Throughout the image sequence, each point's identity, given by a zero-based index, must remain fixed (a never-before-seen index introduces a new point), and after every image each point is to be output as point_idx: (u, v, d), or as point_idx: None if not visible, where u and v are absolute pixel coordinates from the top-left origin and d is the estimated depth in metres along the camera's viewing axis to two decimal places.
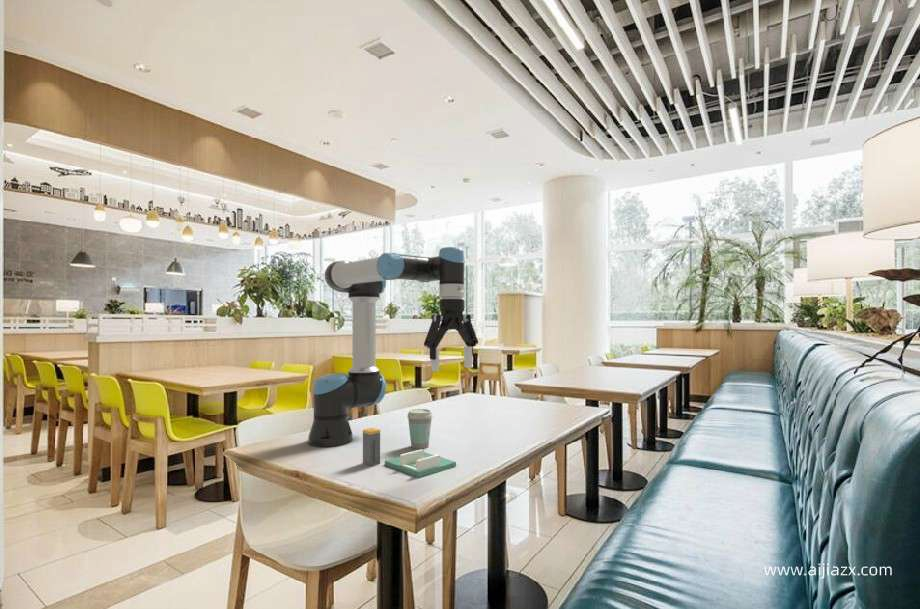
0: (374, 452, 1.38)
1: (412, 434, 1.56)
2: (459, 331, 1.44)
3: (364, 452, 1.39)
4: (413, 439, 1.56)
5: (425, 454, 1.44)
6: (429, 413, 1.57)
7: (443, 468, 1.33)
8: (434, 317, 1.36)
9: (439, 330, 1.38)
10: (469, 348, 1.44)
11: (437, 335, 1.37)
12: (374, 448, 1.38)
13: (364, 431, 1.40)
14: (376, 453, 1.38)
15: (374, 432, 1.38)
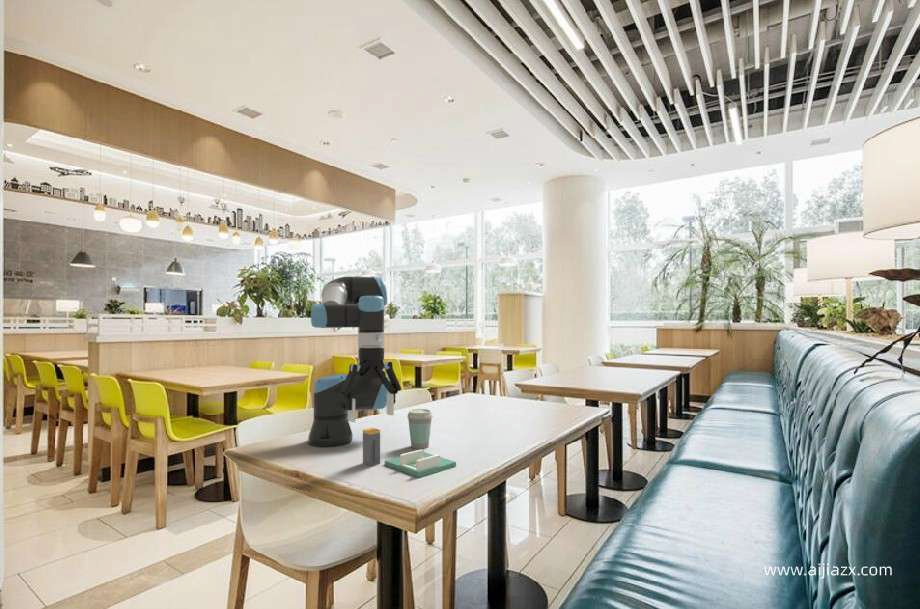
0: (374, 452, 1.38)
1: (412, 434, 1.56)
2: (380, 379, 1.43)
3: (364, 452, 1.39)
4: (413, 439, 1.56)
5: (425, 454, 1.44)
6: (429, 413, 1.57)
7: (443, 468, 1.33)
8: (351, 367, 1.36)
9: (357, 379, 1.37)
10: (391, 395, 1.44)
11: (354, 385, 1.36)
12: (374, 448, 1.38)
13: (364, 431, 1.40)
14: (376, 453, 1.38)
15: (374, 432, 1.38)
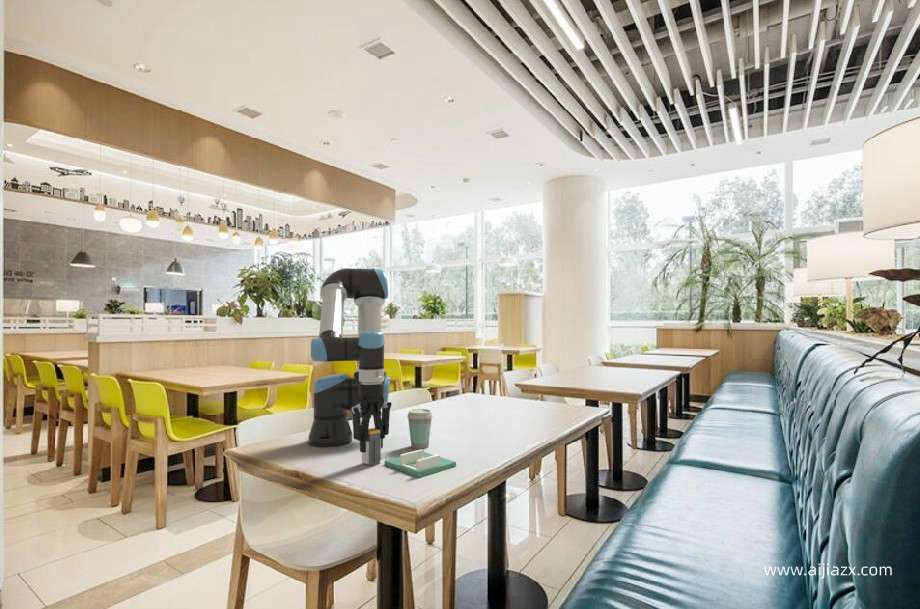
0: (374, 452, 1.38)
1: (412, 434, 1.56)
2: (374, 417, 1.41)
3: None
4: (413, 439, 1.56)
5: (425, 454, 1.44)
6: (429, 413, 1.57)
7: (443, 468, 1.33)
8: (352, 411, 1.36)
9: (363, 420, 1.39)
10: None
11: (362, 426, 1.38)
12: (374, 448, 1.38)
13: None
14: (376, 453, 1.38)
15: (374, 432, 1.38)
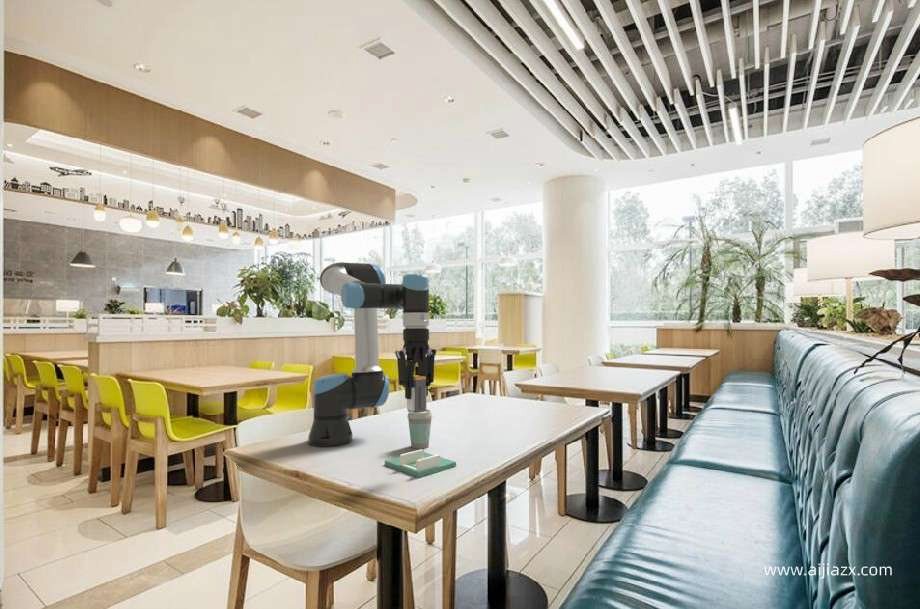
0: (420, 398, 1.32)
1: (412, 434, 1.56)
2: (419, 364, 1.36)
3: None
4: (413, 439, 1.56)
5: (425, 454, 1.44)
6: (429, 413, 1.57)
7: (443, 468, 1.33)
8: (398, 354, 1.30)
9: (408, 365, 1.33)
10: None
11: (408, 372, 1.32)
12: (420, 394, 1.32)
13: None
14: (422, 400, 1.32)
15: (420, 378, 1.33)
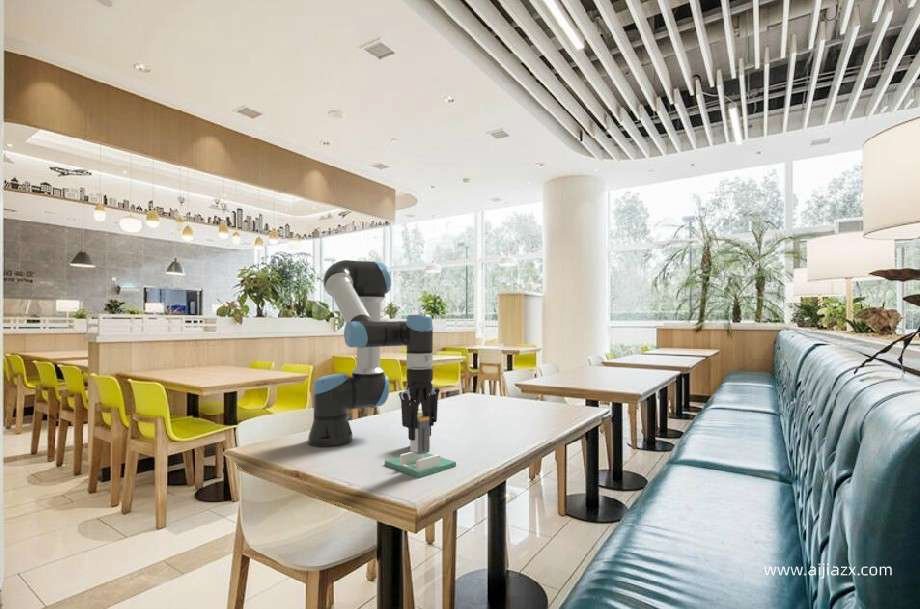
0: (424, 440, 1.32)
1: None
2: (422, 404, 1.35)
3: None
4: None
5: (425, 454, 1.44)
6: None
7: (443, 468, 1.33)
8: (401, 396, 1.30)
9: (411, 406, 1.33)
10: None
11: (411, 413, 1.32)
12: (423, 435, 1.32)
13: None
14: (426, 441, 1.32)
15: (423, 419, 1.32)
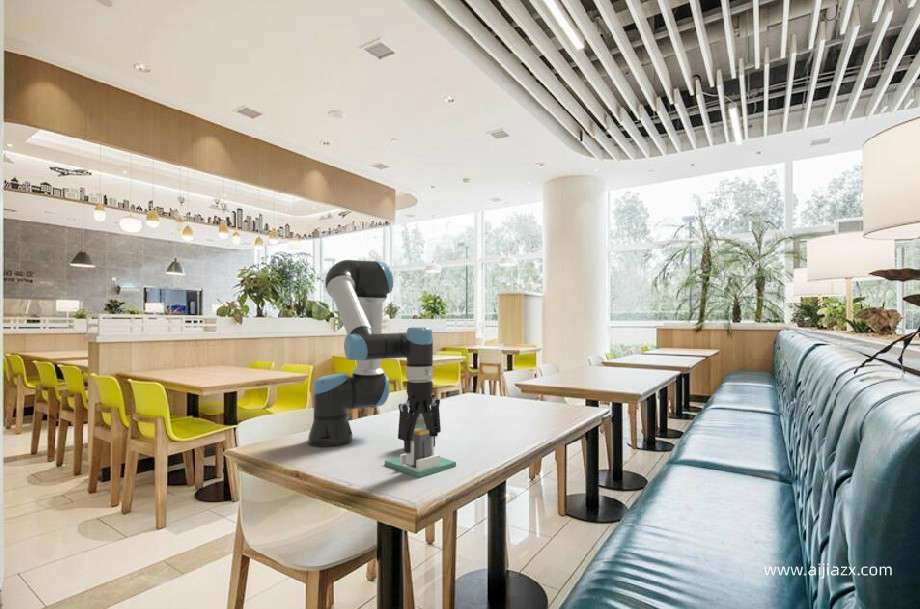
0: (424, 453, 1.31)
1: None
2: (424, 416, 1.36)
3: None
4: None
5: None
6: None
7: (443, 468, 1.33)
8: (401, 408, 1.29)
9: (409, 419, 1.32)
10: (430, 439, 1.35)
11: (409, 425, 1.31)
12: (423, 449, 1.32)
13: None
14: (426, 455, 1.32)
15: (423, 433, 1.32)
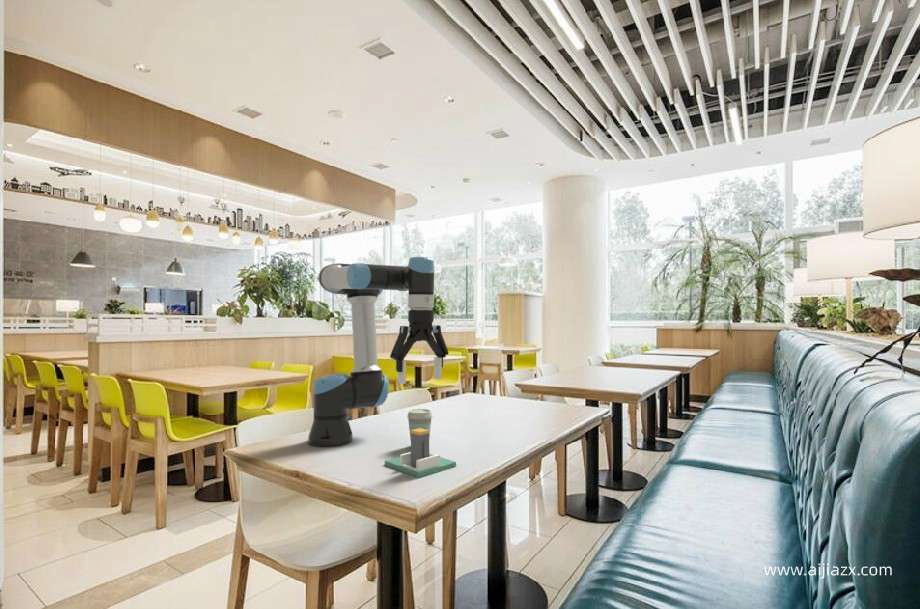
0: (424, 453, 1.31)
1: None
2: (428, 342, 1.41)
3: (413, 454, 1.33)
4: None
5: None
6: (429, 413, 1.57)
7: (443, 468, 1.33)
8: (402, 328, 1.34)
9: (407, 342, 1.35)
10: (439, 359, 1.42)
11: (404, 347, 1.34)
12: (423, 449, 1.32)
13: (412, 432, 1.33)
14: (426, 455, 1.32)
15: (423, 433, 1.32)
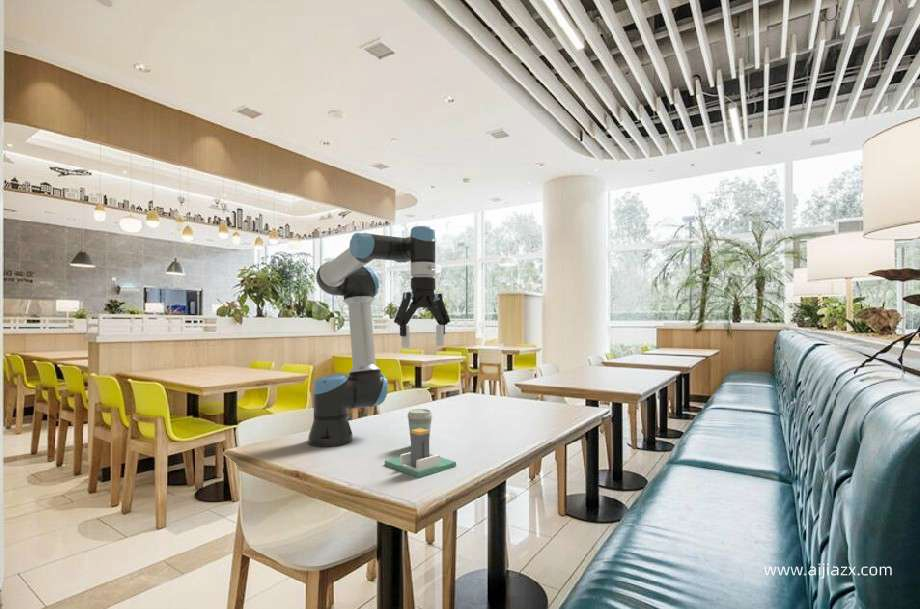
0: (424, 453, 1.31)
1: None
2: (431, 309, 1.45)
3: (413, 454, 1.33)
4: None
5: None
6: (429, 413, 1.57)
7: (443, 468, 1.33)
8: (405, 294, 1.38)
9: (410, 308, 1.40)
10: (441, 326, 1.46)
11: (407, 312, 1.38)
12: (423, 449, 1.32)
13: (412, 432, 1.33)
14: (426, 455, 1.32)
15: (423, 433, 1.32)
